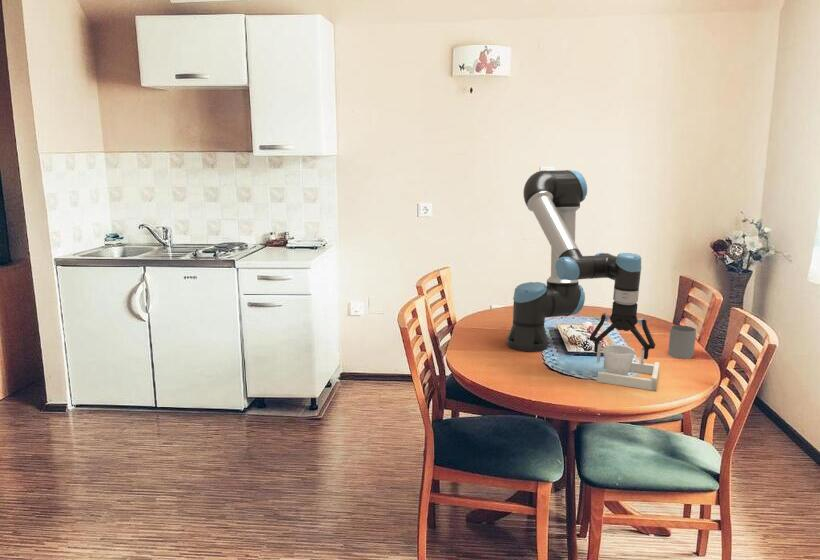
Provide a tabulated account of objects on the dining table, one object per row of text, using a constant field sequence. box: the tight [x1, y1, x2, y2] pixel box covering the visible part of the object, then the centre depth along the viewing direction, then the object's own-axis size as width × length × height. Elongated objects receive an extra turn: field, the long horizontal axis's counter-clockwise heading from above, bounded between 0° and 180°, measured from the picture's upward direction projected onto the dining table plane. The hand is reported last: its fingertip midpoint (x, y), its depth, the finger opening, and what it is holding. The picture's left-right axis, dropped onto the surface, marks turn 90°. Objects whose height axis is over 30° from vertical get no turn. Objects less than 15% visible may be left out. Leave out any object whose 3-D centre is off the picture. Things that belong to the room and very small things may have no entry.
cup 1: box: [602, 344, 636, 376], centre depth 209 cm, size 10×10×9 cm
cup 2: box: [667, 324, 697, 359], centre depth 231 cm, size 8×8×10 cm
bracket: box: [597, 359, 660, 391], centre depth 209 cm, size 18×16×4 cm
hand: (619, 364), depth 210 cm, fingers open, 13 cm apart
